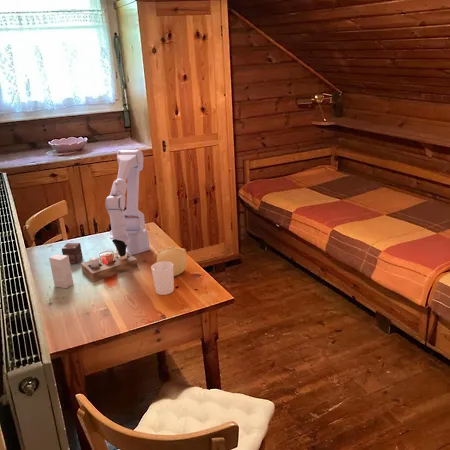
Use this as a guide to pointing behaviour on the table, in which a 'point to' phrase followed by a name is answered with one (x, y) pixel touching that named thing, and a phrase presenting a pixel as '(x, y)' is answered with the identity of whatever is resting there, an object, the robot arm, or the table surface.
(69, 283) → the skincare box
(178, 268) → the pale yellow rounded lump
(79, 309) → the table surface
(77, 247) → the box
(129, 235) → the robot arm
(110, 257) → the salmon pink egg
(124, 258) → the cream plug
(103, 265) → the light brown rack
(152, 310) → the table surface
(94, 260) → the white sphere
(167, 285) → the white cup
